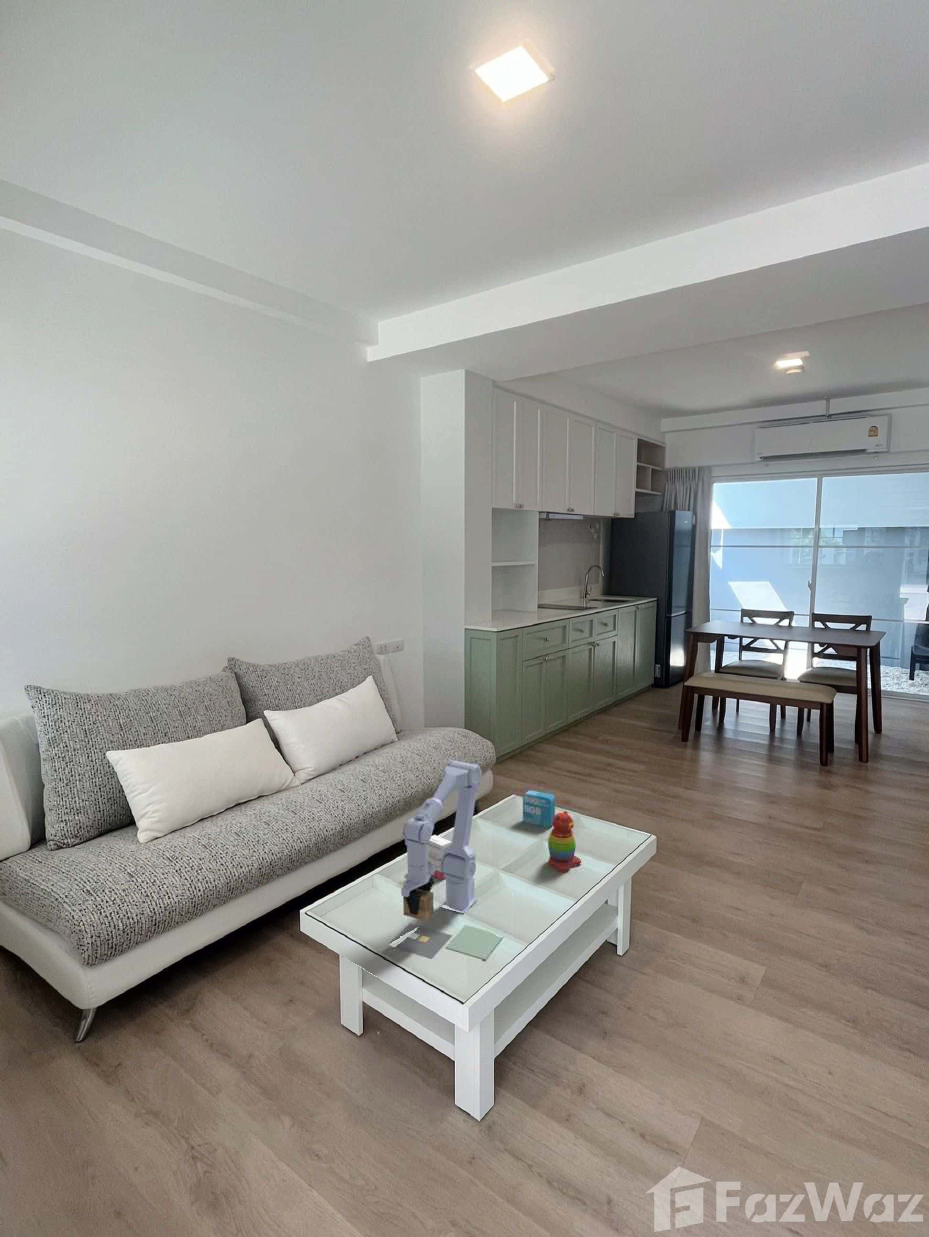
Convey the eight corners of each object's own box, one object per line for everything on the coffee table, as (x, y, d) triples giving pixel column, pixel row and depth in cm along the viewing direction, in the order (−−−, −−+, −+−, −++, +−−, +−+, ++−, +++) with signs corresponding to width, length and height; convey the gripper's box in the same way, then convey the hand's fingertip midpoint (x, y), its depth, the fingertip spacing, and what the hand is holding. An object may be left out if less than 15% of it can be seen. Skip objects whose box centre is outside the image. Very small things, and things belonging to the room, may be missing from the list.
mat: (465, 926, 191) (465, 924, 191) (503, 936, 186) (503, 935, 186) (445, 948, 180) (445, 947, 180) (485, 960, 175) (485, 959, 175)
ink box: (452, 874, 221) (452, 841, 220) (442, 880, 217) (441, 846, 216) (434, 866, 227) (434, 833, 226) (424, 871, 223) (423, 838, 222)
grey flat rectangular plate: (409, 923, 192) (409, 923, 192) (452, 936, 186) (452, 935, 186) (387, 946, 182) (387, 945, 182) (431, 959, 175) (431, 959, 175)
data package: (522, 822, 263) (522, 793, 262) (527, 818, 267) (527, 789, 266) (550, 828, 257) (550, 798, 256) (555, 824, 261) (555, 794, 260)
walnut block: (412, 907, 188) (411, 886, 187) (433, 912, 185) (433, 892, 184) (403, 914, 184) (403, 894, 183) (425, 921, 181) (425, 900, 180)
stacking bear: (563, 873, 221) (564, 822, 219) (540, 863, 229) (541, 813, 227) (584, 863, 228) (584, 813, 227) (561, 853, 236) (561, 805, 234)
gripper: (418, 848, 191) (419, 893, 192) (391, 870, 178) (392, 918, 180) (440, 853, 188) (440, 899, 189) (413, 876, 175) (414, 924, 176)
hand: (418, 909), depth 184 cm, fingers closed on walnut block, 4 cm apart
